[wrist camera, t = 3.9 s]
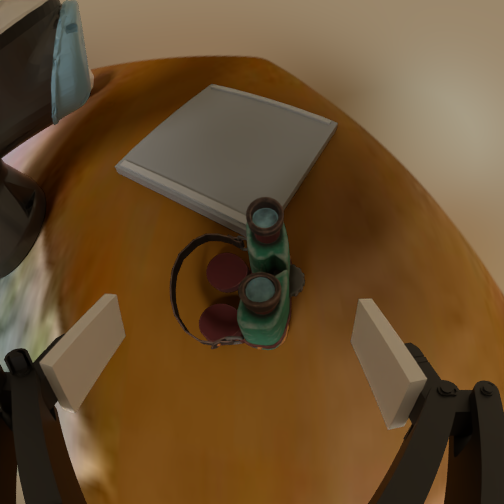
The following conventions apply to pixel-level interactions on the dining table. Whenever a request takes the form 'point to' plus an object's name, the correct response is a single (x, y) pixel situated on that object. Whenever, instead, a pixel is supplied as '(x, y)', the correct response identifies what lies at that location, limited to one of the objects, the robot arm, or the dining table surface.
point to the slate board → (229, 153)
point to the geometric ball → (91, 78)
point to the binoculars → (249, 282)
